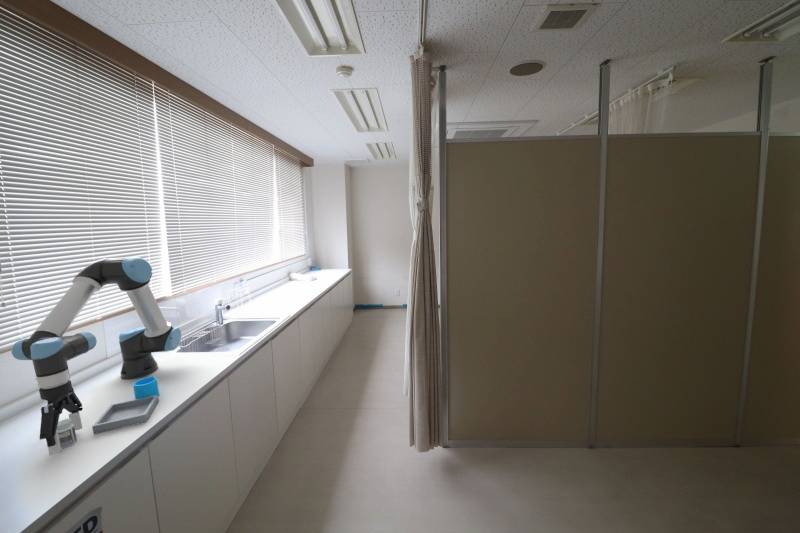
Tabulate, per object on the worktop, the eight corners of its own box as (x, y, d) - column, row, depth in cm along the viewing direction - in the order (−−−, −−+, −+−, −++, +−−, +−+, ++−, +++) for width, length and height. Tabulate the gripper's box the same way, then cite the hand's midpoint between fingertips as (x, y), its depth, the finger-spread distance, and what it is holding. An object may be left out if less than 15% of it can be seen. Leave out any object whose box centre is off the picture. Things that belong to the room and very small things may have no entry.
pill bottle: (66, 440, 115) (62, 418, 114) (81, 439, 115) (76, 417, 114) (53, 449, 110) (48, 427, 109) (68, 448, 111) (63, 425, 109)
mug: (153, 402, 138) (150, 384, 137) (131, 405, 136) (128, 387, 135) (167, 388, 150) (164, 371, 148) (147, 391, 148) (144, 374, 147)
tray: (112, 411, 132) (111, 404, 132) (159, 401, 138) (158, 394, 138) (93, 433, 118) (92, 426, 117) (147, 421, 124) (145, 414, 123)
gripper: (61, 371, 119) (72, 423, 122) (14, 405, 97) (28, 468, 100) (87, 367, 122) (97, 418, 125) (47, 398, 100) (60, 460, 103)
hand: (67, 440), depth 113 cm, fingers open, 13 cm apart
